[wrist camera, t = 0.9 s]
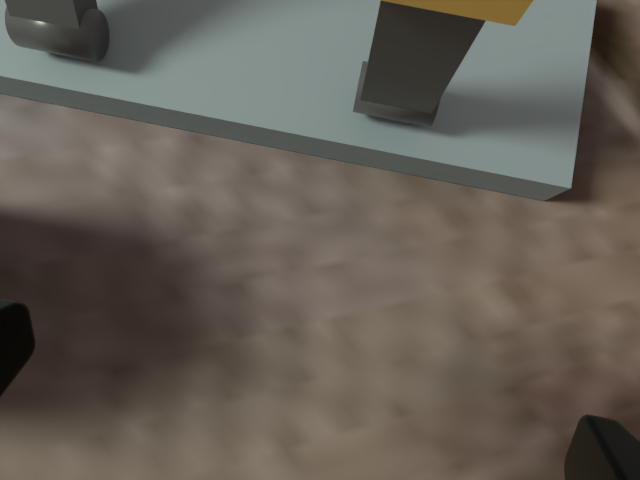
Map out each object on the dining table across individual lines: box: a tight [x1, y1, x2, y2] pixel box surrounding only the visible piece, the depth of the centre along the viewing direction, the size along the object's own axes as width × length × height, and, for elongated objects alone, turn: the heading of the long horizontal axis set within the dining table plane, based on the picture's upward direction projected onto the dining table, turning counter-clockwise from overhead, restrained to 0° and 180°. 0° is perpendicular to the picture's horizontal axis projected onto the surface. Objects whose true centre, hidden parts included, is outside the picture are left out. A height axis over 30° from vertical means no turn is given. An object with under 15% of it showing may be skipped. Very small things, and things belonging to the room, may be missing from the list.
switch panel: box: [0, 0, 597, 201], centre depth 23 cm, size 10×30×3 cm, turn 79°
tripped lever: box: [353, 0, 534, 127], centre depth 16 cm, size 2×4×11 cm, turn 79°
